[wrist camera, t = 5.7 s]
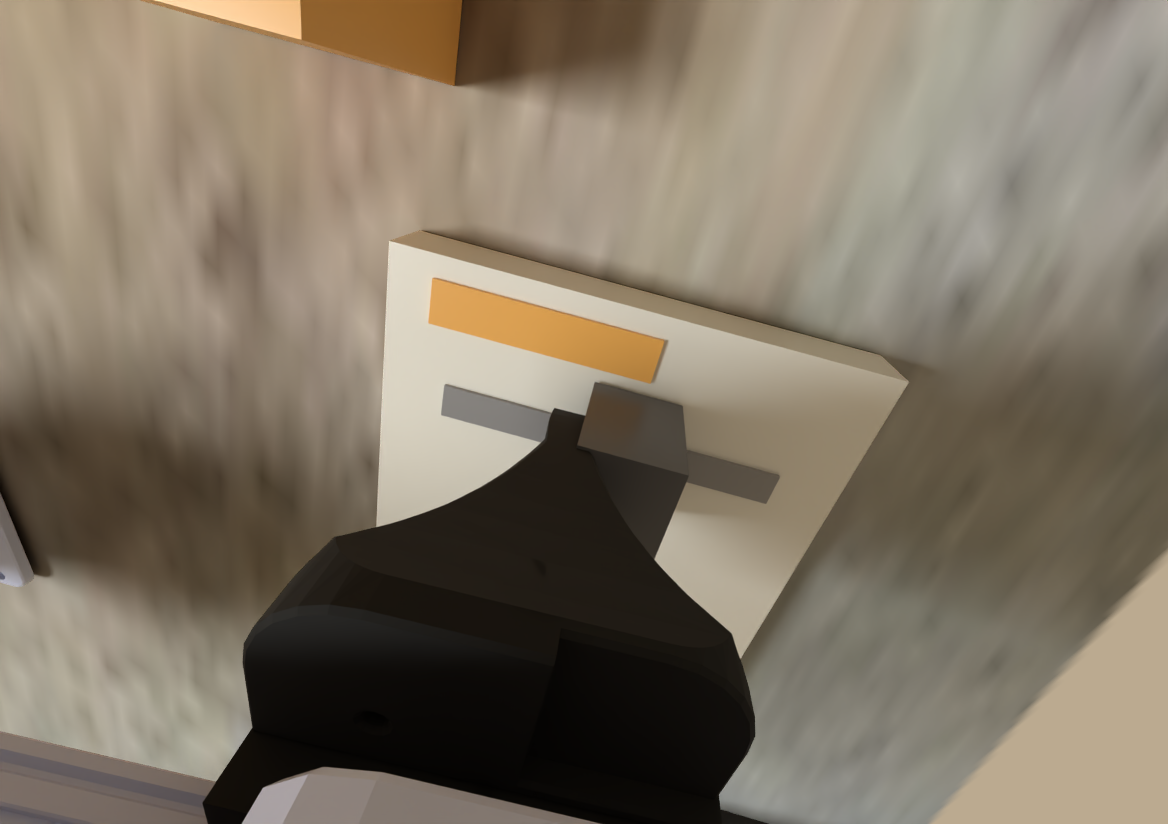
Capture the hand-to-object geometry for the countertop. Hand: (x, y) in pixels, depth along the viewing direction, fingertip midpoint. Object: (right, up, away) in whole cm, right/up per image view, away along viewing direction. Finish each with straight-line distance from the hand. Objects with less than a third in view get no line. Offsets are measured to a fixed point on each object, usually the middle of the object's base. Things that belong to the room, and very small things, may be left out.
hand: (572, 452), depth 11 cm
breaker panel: (0, -2, +3) cm, 4 cm away
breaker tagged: (+1, 0, +1) cm, 1 cm away
